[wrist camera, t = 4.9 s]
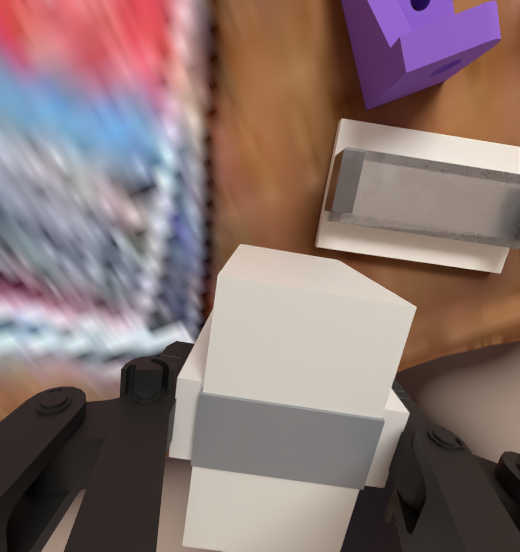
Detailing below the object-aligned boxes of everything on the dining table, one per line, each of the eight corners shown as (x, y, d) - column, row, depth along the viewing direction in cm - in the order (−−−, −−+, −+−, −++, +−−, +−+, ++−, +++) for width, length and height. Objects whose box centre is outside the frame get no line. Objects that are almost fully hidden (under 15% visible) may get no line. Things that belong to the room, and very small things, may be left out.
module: (216, 398, 15) (179, 549, 8) (239, 243, 13) (214, 276, 6) (303, 410, 15) (337, 570, 9) (339, 260, 13) (421, 308, 7)
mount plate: (314, 245, 26) (316, 247, 25) (338, 122, 23) (341, 118, 22) (491, 271, 27) (500, 273, 26) (533, 153, 24) (545, 151, 23)
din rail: (318, 219, 24) (329, 221, 21) (332, 149, 23) (346, 137, 19) (512, 248, 25) (558, 254, 21) (537, 181, 24) (590, 175, 20)
